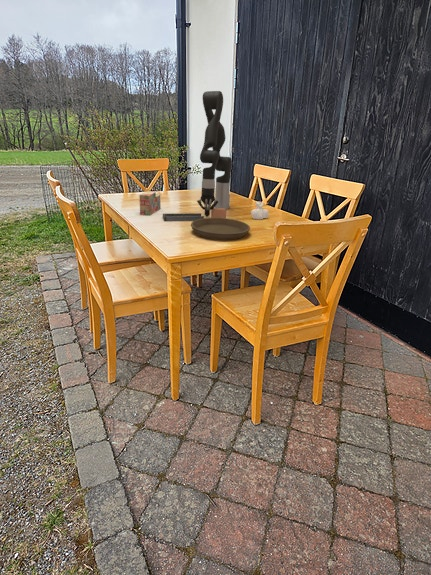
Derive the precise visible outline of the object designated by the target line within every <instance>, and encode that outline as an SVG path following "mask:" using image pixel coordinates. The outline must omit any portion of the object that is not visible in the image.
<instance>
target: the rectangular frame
mask: <svg viewBox="0 0 431 575" xmlns="http://www.w3.org/2000/svg"><path fill="white" fill-rule="evenodd" d="M203 218H205V215H202V213H200V212H198V213H196V212H195V213H194V212H193V213H187V212H185V213H183V212H182V213H179V212H178V213H173V212H172V213H162V220H163V221H164V222H193V221H195V220H198V219H203Z"/></svg>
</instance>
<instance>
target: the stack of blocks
mask: <svg viewBox="0 0 431 575" xmlns="http://www.w3.org/2000/svg"><path fill="white" fill-rule="evenodd" d="M156 192H157V191H148V190H147V191H144V192H142V193H140V194H139V195H138V196H139V197H138V198H139V215H140V216H152V215H153V214H155V213H156V212H157V211H160V210H161V194H159V193H158V194H157V193H156Z"/></svg>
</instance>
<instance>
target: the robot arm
mask: <svg viewBox="0 0 431 575" xmlns="http://www.w3.org/2000/svg"><path fill="white" fill-rule="evenodd" d="M202 105H203V109H204V113H205V116H206V120H207V125H206V128H205V131H204V142H203V146H202V148H201V151H200V153H199V154H200V155H199V160H200V163H202V164H211V166H207V167H204V168H203V169H202V180H201V196H200V199H197V200H196V202H197V204H198V205H199V206H200V208H201V209H202V210H204V217H205V218H210V216H211V210H212V209H213V208H225V209H226V210H228V209H229V210H230V201H231V200H230V199H231V194H230V188H231V186H230V185H231V175H232V165H233V159H232V158H231V157H230V156H222V155H221V149H222V147H224V144H225V142H226V131H225V127H224V126H223V123H221V116H222V112H223V107H224V106H223V105H224V95H223V93H222V91H220V90H211V91H204V92H203V93H202ZM213 110H214V111H215V112H213ZM209 149H210V150H209ZM211 149H212V150H211ZM216 171H217V172H222V173H223V172H224V173H223V174H222V175H220V176H217V177H215V176H216ZM202 203H203V204H202ZM203 205H204V206H203Z"/></svg>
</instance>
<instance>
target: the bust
mask: <svg viewBox="0 0 431 575" xmlns="http://www.w3.org/2000/svg"><path fill="white" fill-rule="evenodd" d="M254 205H255V208H254V209H252V210H251V211H250V214H251V217H252V219H254V220H264V219H263V218H266V219H268V217H269V214H270V213H269V209H267V208H263V206H264V205H265V203H264V202H262V201H260V200H259V201H256V202H255V203H254Z"/></svg>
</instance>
